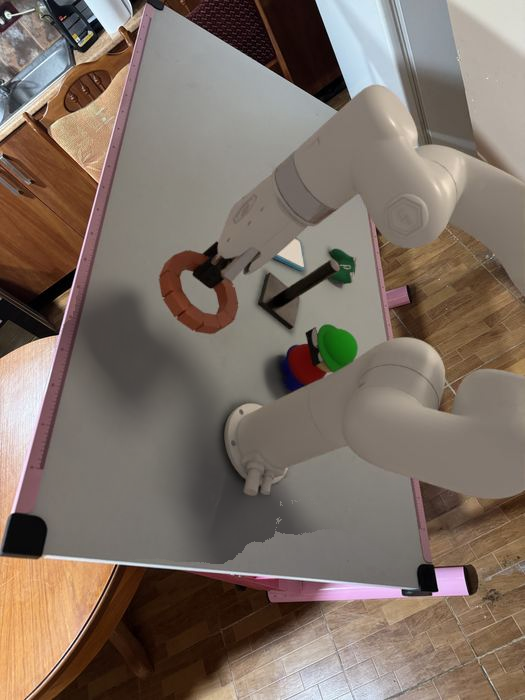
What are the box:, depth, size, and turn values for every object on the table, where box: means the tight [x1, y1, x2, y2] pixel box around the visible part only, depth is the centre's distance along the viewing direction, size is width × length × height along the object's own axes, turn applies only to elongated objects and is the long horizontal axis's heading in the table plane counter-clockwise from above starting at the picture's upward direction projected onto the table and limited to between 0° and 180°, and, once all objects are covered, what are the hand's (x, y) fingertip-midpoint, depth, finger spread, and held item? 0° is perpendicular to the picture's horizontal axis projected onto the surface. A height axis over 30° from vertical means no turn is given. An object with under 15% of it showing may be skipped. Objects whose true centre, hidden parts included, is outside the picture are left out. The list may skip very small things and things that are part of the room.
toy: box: [280, 323, 359, 392], centre depth 92 cm, size 9×9×15 cm
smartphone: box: [272, 237, 307, 272], centre depth 110 cm, size 8×1×15 cm
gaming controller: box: [329, 248, 358, 285], centre depth 121 cm, size 9×4×6 cm
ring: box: [158, 249, 239, 335], centre depth 68 cm, size 10×10×2 cm
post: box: [258, 258, 340, 330], centre depth 99 cm, size 8×8×14 cm
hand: (205, 272), depth 71 cm, fingers closed on ring, 2 cm apart
